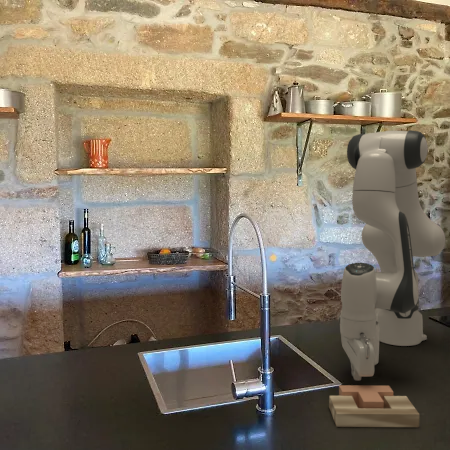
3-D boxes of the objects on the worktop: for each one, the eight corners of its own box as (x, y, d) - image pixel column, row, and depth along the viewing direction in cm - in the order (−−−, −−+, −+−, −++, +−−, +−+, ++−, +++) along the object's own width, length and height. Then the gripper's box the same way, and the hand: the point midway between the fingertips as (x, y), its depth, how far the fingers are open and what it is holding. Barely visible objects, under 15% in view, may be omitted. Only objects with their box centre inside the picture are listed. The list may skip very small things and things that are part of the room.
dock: (329, 407, 118) (329, 395, 117) (405, 408, 117) (406, 396, 117) (336, 426, 109) (336, 413, 109) (418, 427, 109) (419, 414, 108)
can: (379, 367, 141) (381, 326, 139) (355, 365, 142) (357, 324, 140) (377, 358, 147) (378, 319, 145) (354, 356, 148) (355, 317, 147)
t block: (338, 401, 121) (339, 385, 121) (388, 401, 121) (388, 385, 120) (346, 418, 113) (347, 401, 112) (399, 418, 112) (400, 401, 112)
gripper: (382, 341, 117) (380, 397, 119) (360, 314, 137) (358, 362, 139) (355, 341, 117) (353, 397, 119) (337, 314, 137) (336, 362, 139)
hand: (356, 377), depth 129 cm, fingers closed
